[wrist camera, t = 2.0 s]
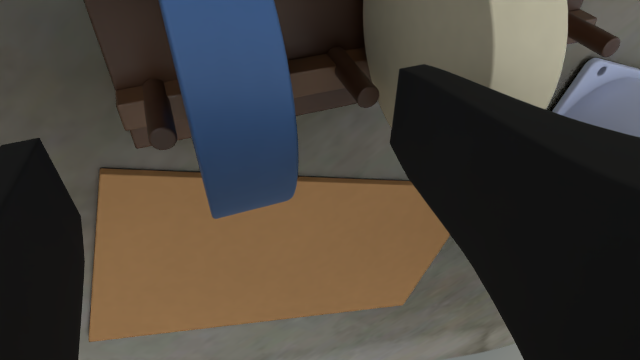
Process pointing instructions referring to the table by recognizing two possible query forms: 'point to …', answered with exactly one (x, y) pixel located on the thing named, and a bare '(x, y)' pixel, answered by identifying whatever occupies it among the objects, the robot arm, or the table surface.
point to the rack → (301, 49)
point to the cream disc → (468, 44)
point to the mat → (251, 252)
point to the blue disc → (236, 99)
